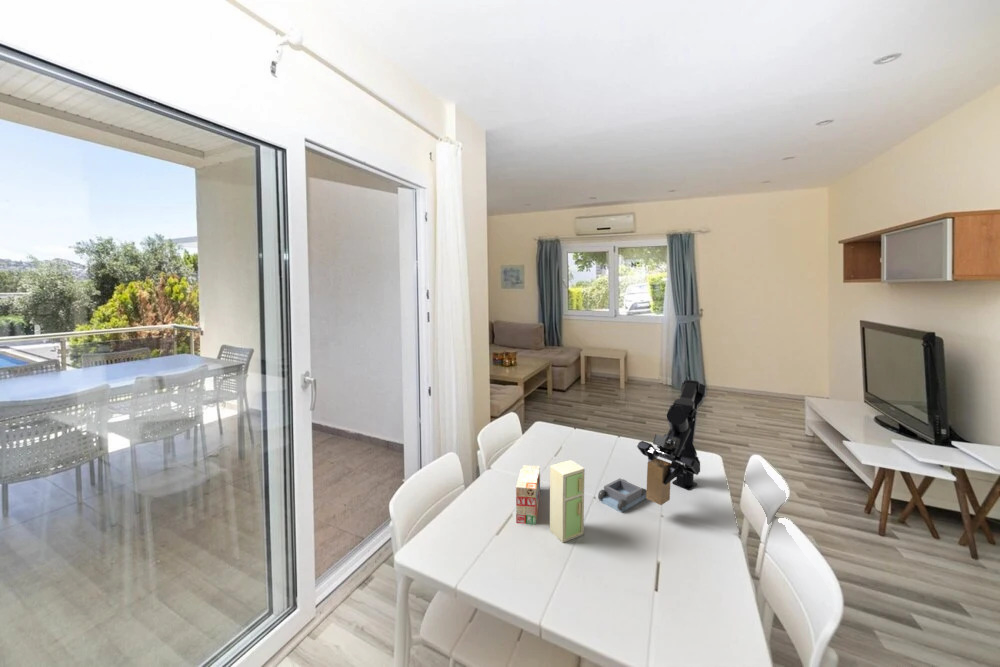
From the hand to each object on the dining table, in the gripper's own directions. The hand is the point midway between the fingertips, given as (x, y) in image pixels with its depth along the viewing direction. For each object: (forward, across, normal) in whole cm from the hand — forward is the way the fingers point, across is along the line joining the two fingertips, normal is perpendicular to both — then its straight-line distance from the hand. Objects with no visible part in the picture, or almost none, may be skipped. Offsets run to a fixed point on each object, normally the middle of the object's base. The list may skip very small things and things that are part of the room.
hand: (656, 480), depth 120 cm
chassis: (+8, -14, +11) cm, 19 cm away
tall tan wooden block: (+4, 0, +6) cm, 7 cm away
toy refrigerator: (+28, -12, -9) cm, 32 cm away
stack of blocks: (+28, -31, -8) cm, 42 cm away
